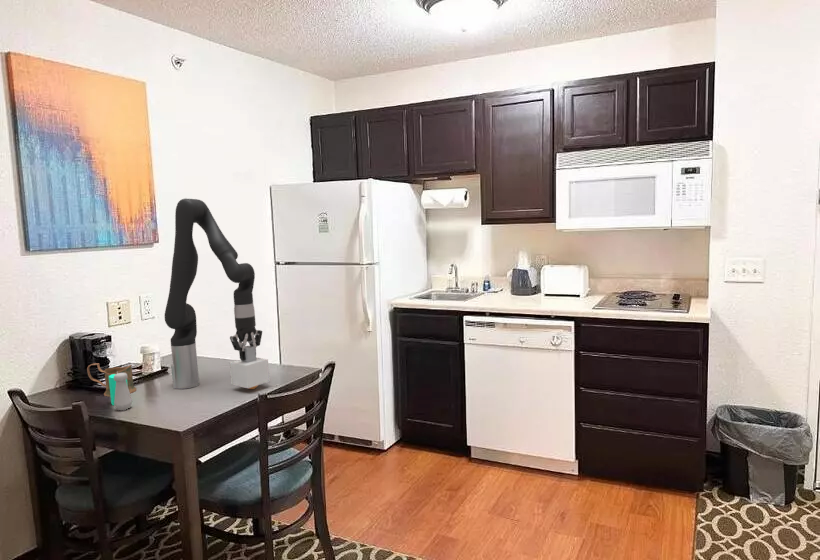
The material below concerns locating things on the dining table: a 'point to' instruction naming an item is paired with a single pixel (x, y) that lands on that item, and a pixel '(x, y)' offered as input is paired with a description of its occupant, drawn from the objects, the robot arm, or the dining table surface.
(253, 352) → the white block with knob
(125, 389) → the salt shaker
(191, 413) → the dining table surface
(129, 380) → the mug
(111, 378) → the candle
